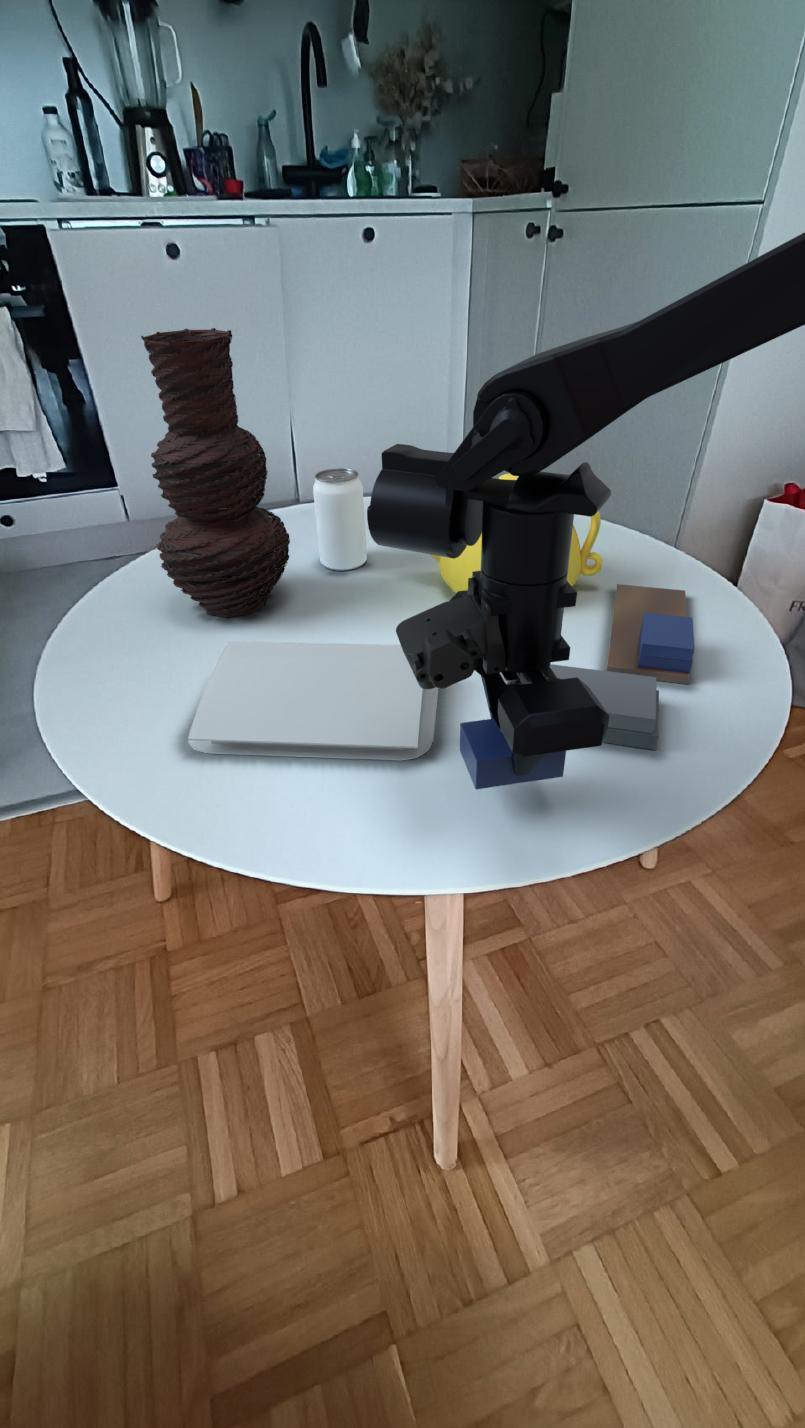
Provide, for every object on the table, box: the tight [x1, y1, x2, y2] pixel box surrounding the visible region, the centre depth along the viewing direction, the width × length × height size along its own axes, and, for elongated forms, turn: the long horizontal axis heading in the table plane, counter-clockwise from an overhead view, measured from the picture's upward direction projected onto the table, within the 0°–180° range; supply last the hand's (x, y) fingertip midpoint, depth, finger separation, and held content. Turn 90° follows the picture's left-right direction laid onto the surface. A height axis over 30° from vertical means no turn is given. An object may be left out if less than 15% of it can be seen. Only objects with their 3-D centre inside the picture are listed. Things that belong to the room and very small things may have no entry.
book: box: [187, 640, 440, 762], centre depth 69 cm, size 15×23×4 cm, turn 85°
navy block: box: [459, 718, 567, 790], centre depth 56 cm, size 7×5×3 cm
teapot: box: [429, 473, 604, 594], centre depth 88 cm, size 25×18×14 cm
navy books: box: [638, 613, 695, 674], centre depth 74 cm, size 7×5×3 cm
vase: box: [140, 327, 291, 619], centre depth 81 cm, size 15×15×30 cm
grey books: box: [550, 663, 660, 751], centre depth 67 cm, size 11×8×3 cm
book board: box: [605, 583, 691, 685], centre depth 80 cm, size 8×20×1 cm, turn 163°
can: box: [312, 467, 368, 572], centre depth 96 cm, size 6×6×12 cm
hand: (510, 752), depth 56 cm, fingers closed on navy block, 5 cm apart
